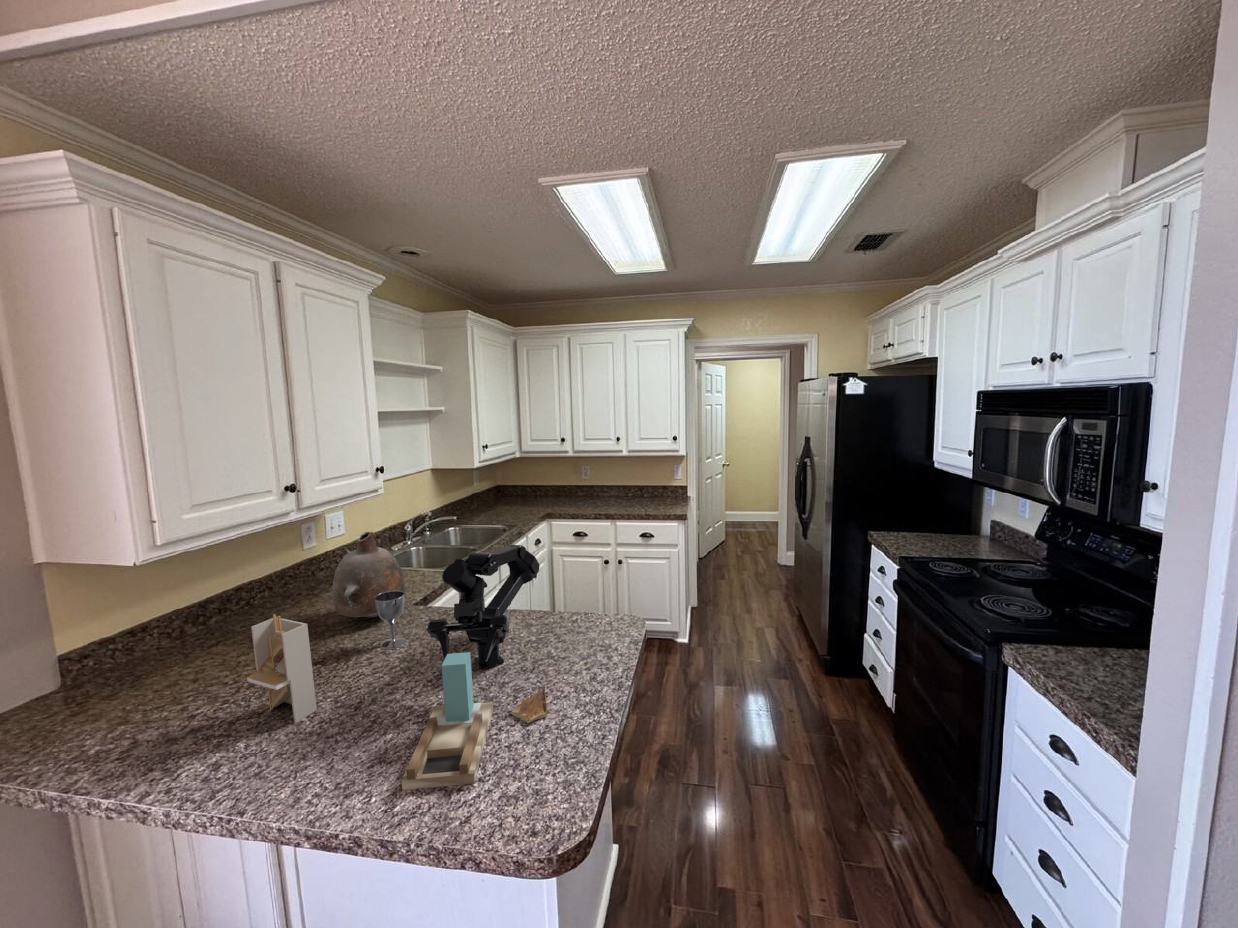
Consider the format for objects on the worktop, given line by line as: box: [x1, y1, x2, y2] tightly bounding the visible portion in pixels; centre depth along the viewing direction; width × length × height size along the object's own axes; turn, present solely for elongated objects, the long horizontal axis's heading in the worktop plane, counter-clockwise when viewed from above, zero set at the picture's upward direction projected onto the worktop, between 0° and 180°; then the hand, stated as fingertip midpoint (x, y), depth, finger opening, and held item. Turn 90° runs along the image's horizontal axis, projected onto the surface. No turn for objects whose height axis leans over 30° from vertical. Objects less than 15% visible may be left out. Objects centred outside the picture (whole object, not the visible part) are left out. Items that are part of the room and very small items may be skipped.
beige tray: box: [401, 701, 494, 791], centre depth 101 cm, size 22×13×4 cm, turn 6°
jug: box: [332, 531, 406, 619], centre depth 162 cm, size 24×21×30 cm
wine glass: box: [375, 590, 407, 650], centre depth 145 cm, size 8×8×15 cm
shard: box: [511, 687, 548, 724], centre depth 113 cm, size 11×8×2 cm
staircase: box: [246, 613, 318, 724], centre depth 112 cm, size 8×12×26 cm
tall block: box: [441, 651, 475, 722], centre depth 108 cm, size 5×5×13 cm
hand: (466, 662), depth 115 cm, fingers open, 9 cm apart
